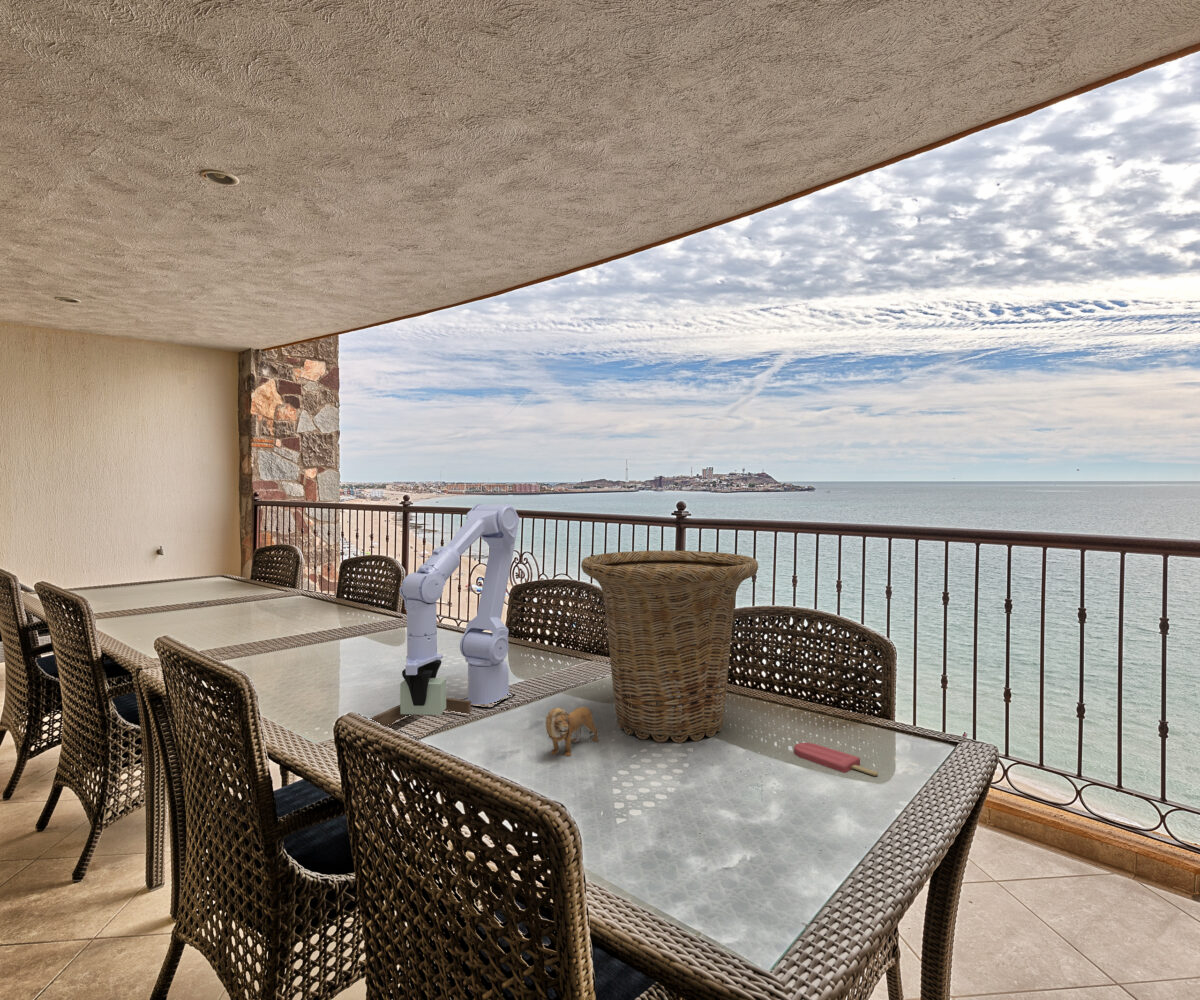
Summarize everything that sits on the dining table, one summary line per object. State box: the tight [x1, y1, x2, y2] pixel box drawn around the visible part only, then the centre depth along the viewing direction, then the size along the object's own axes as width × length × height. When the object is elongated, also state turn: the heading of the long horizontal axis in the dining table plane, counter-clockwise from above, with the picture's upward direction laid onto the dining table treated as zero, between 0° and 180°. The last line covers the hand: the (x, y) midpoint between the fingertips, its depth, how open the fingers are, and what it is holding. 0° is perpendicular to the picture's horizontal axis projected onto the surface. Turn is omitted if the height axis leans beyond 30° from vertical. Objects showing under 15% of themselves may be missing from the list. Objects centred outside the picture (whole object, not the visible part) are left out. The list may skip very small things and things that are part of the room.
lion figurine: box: [545, 706, 599, 757], centre depth 121 cm, size 15×5×9 cm, turn 153°
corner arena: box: [369, 697, 472, 740], centre depth 134 cm, size 16×12×3 cm
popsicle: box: [793, 742, 879, 777], centre depth 114 cm, size 5×2×15 cm
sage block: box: [399, 677, 447, 716], centre depth 132 cm, size 4×8×6 cm, turn 88°
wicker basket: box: [580, 550, 759, 744], centre depth 133 cm, size 35×35×33 cm
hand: (422, 701), depth 132 cm, fingers closed on sage block, 4 cm apart
